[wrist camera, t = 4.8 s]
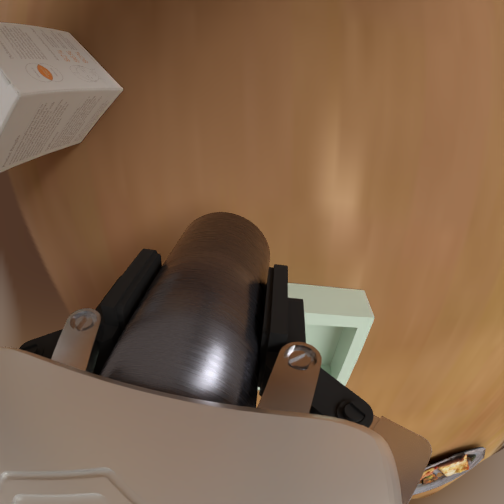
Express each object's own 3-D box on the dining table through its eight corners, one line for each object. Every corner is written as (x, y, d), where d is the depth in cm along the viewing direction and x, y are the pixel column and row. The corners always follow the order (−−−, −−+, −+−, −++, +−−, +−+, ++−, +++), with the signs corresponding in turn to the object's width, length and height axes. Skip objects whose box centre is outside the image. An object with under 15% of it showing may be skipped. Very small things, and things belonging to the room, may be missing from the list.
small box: (32, 84, 17) (-68, 100, 8) (71, 30, 15) (-32, 18, 6) (81, 145, 19) (-23, 186, 10) (127, 90, 18) (18, 95, 8)
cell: (179, 208, 14) (42, 399, 5) (274, 217, 14) (254, 457, 5) (181, 285, 16) (102, 471, 7) (264, 296, 16) (241, 504, 7)
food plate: (372, 478, 42) (374, 493, 39) (484, 428, 35) (490, 442, 32) (396, 494, 51) (397, 505, 48) (479, 458, 44) (482, 468, 41)
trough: (199, 272, 24) (188, 299, 20) (364, 290, 23) (374, 317, 20) (201, 353, 28) (193, 380, 25) (336, 366, 27) (341, 394, 24)
